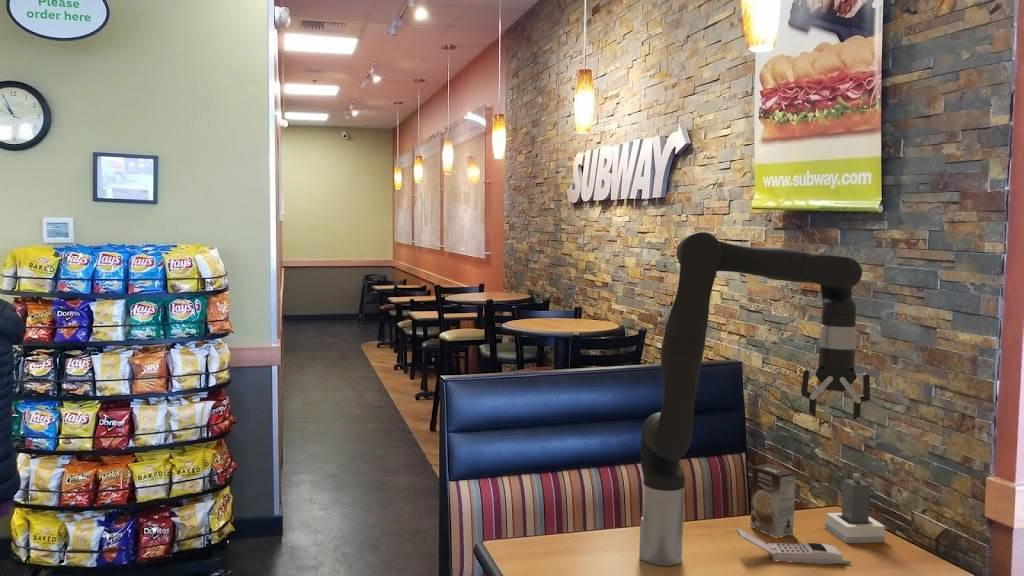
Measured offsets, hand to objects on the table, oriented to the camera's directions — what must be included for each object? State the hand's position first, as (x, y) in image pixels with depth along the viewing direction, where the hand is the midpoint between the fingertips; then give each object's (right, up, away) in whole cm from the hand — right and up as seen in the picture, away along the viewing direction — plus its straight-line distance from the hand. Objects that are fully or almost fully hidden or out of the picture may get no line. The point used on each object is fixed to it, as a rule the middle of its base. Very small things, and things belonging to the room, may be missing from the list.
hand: (833, 417), depth 178 cm
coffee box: (-7, -33, +23) cm, 41 cm away
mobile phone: (-7, -34, +6) cm, 35 cm away
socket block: (+14, -33, +21) cm, 42 cm away
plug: (+14, -32, +21) cm, 41 cm away
